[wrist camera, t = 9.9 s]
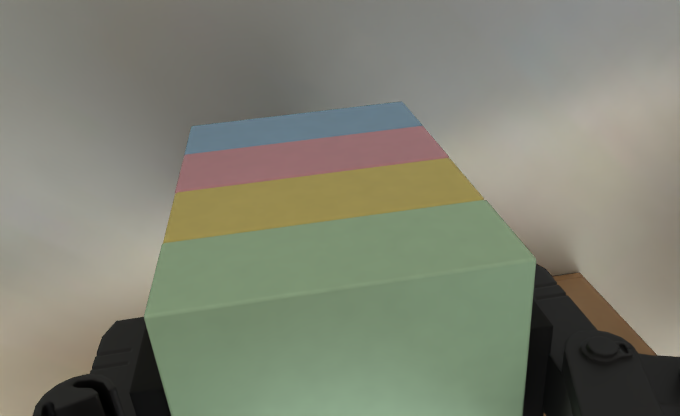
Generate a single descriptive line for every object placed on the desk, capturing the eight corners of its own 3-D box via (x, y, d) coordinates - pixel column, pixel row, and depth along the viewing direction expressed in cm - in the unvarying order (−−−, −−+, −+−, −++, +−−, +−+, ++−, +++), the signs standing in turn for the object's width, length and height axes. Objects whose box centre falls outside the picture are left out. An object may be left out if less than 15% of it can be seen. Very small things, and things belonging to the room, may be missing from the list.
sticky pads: (402, 100, 17) (538, 258, 9) (408, 291, 20) (514, 533, 12) (190, 125, 16) (142, 316, 9) (229, 318, 19) (218, 589, 12)
